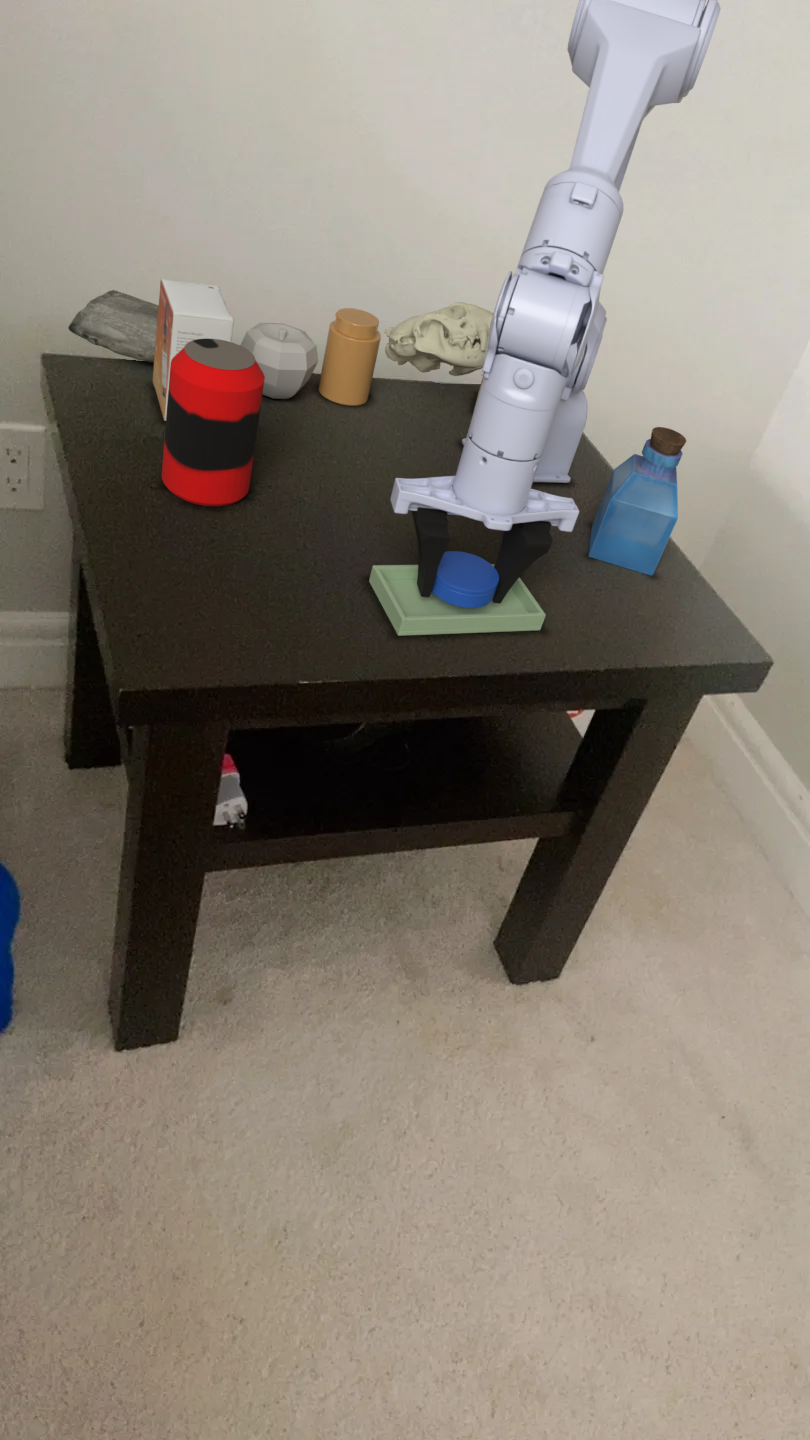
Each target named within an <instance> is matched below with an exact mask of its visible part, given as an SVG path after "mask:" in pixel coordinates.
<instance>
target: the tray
mask: <svg viewBox="0 0 810 1440" xmlns="http://www.w3.org/2000/svg"><path fill="white" fill-rule="evenodd" d="M490 564H491V565H492V566H493V567H494V565H495V563H490ZM417 577H418V564H378V565H376V564H373V565H372V568H371V571H370V575H369V580H368V582H369V584H370V586H371V588H372V590H373V591H374V593H375V595H376V597H377V599H378V601H379V603H380V605H381V606H382V609H383V611H384V612H385V614H386V616H387V617H388V621H389V622H390V623H391V626H392V627H393V629H394V630H395V633H396V635H397V636H401V637H402V636H425V635H426V636H427V635H451V634H478V633H480V634H481V633H503V632H504V633H506V632H530V631H532V632H533V631H541V629H542V626H543V624H544V622H545V618H546V616H547V614H546V613H545V611H544V610H543V609H542V607H541V605H540V604H539V603H538V601H537V600H536V599H535V597H534V596H533V594H532V593H531V591H530V590H529V588H528V587H527V585H526V584H525V583H524V582H523V580H522V579H521V576H520V577H519V578H518V579H517V581H516V582H515V583H514V584H513V586H512V587H511V589H510V590H509V591H508V593H507V594H506V596H505V597H504V599H503V600H502V602H501V603H493V601H491V602H490V603H489V604H488V605H486V606H483V607H479V608H463V607H458V606H455V605H451V604H449V603H447V602H445V601H443V600H441V599H439V598H438V597H437V596H436V595H434V594H433V593H432V592H431V595H430V597H422V596H421V595H420V592H419V589H418V586H417Z"/></svg>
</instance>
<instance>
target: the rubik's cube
mask: <svg viewBox="0 0 810 1440" xmlns="http://www.w3.org/2000/svg"><path fill="white" fill-rule="evenodd" d="M483 379H484V376H482V378H481V382H480V385H479V389H478V392H477V396H476V401H475V405H474V408H473V410H474V409H475V406H476V402H477V399H478V395H479V391H480V388H481V384H482V381H483Z"/></svg>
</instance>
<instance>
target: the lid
mask: <svg viewBox="0 0 810 1440" xmlns="http://www.w3.org/2000/svg"><path fill="white" fill-rule="evenodd" d="M491 564H492V563H490V562H488V561H487V560H486V559H484V558H482V557H480V556H477V555H475V554H472V553H470V552H466V551H459V550H458V551H456V550H450V551H445V552H444V555H443V557H442V559H441V562H440V564H439V567H438V570H437V574H436V578H435V583H434V587H433V590H432V593H433V594H434V595H436V596H437V597H438V598H439V599H441V600H443V601H445V602H447V603H449V604H451V605H455V606H458V607H463V608H479V607H483V606H486V605H488V604H489V603H490V602H491V601H492V600H493V598H494V595H495V592H496V589H497V585H498V582H499V575H498V572H497V571H496V569H495V568H494V567H493V566H492V565H491Z"/></svg>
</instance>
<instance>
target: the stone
mask: <svg viewBox="0 0 810 1440" xmlns="http://www.w3.org/2000/svg"><path fill="white" fill-rule="evenodd" d="M118 291H119V290H116V291H115V289H112V290H108V291H107V292H105V293H103V294H102V295H98V296H96V297H95V298H93V299H91V300H89V302H87V304H86V305H85V307H84V308H83V309H81V310H80V311H78V312H77V313H76V315H74V318H73V319H72V320H71V323H70V324H69V325H68V327H67V329H68V330H69V332H71V333H72V334H74V335H76V336H78V337H80V338H82V339H84V340H85V341H87V342H88V343H89V344H92V345H94V346H99V347H102V348H104V349H106V350H109V351H112V352H113V353H114V354H118V355H120V356H124V357H127V358H130V359H131V358H132V359H134V360H137V361H142V362H146V363H150V364H151V363H152V364H154V357H155V345H156V332H157V320H158V308H159V304H156V303H153V302H150V301H147V300H144V299H141V298H138V297H136V296H133V295H131V294H127V293H124V292H122V291H119V292H118ZM121 292H122V293H121Z"/></svg>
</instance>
